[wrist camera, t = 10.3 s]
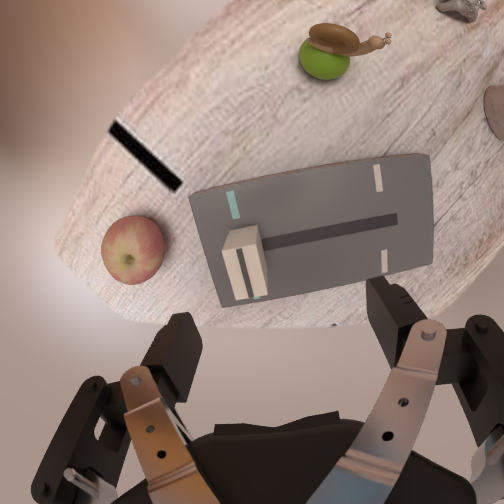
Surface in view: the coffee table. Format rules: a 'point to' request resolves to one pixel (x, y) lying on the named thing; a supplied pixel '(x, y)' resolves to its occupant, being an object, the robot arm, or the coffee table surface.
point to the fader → (246, 262)
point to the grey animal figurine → (463, 8)
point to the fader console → (323, 223)
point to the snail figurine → (334, 50)
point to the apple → (133, 249)
